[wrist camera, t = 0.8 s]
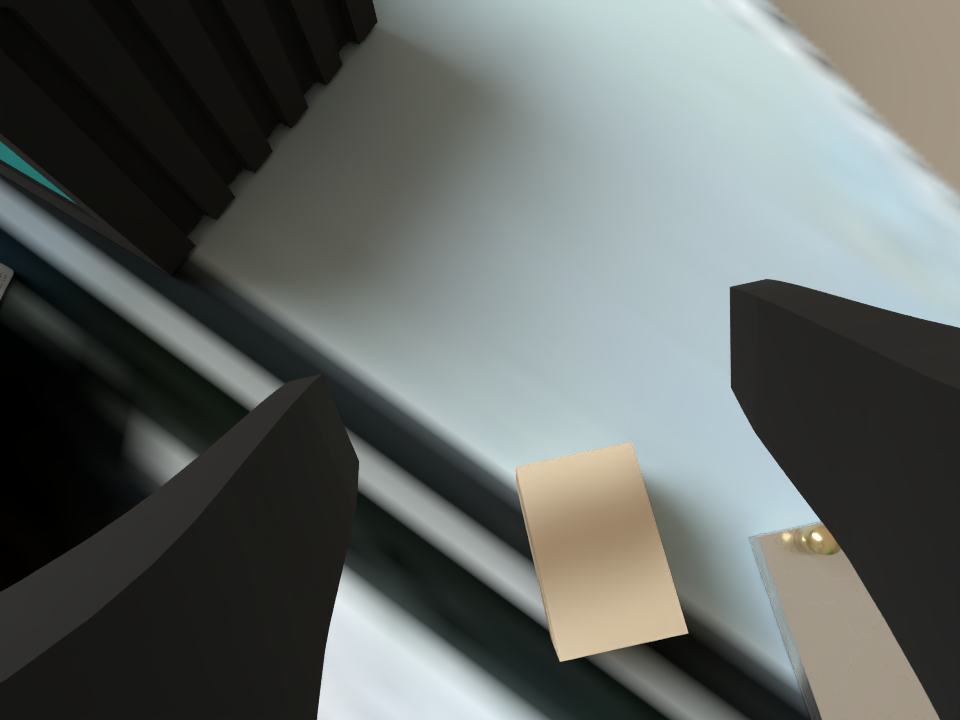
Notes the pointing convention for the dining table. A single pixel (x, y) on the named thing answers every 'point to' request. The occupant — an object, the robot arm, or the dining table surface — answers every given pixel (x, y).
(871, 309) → the robot arm
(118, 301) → the dining table surface
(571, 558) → the birch block
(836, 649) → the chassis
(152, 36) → the electronic device
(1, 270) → the ink cartridge box
